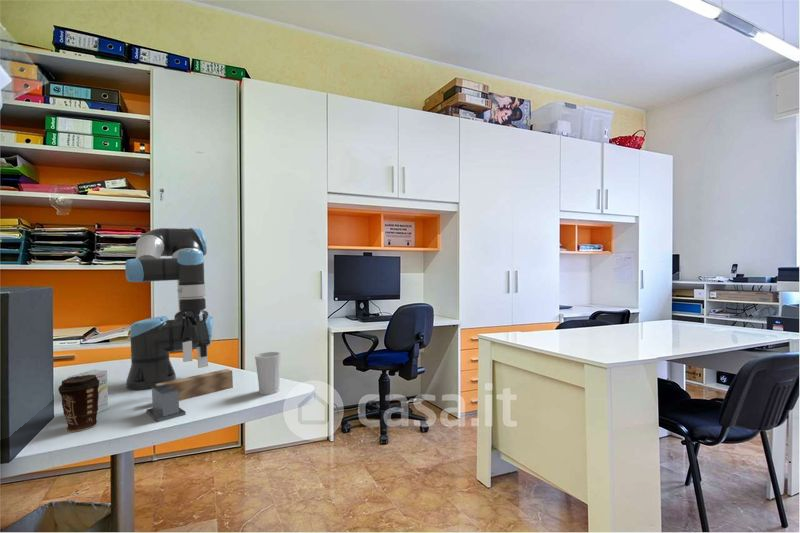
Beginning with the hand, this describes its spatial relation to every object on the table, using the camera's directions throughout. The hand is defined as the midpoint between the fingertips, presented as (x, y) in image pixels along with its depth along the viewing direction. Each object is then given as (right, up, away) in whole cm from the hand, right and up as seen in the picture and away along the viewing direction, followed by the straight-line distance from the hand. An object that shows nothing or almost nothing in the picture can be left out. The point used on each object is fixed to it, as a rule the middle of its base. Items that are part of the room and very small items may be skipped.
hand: (195, 364), depth 132 cm
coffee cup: (-18, -11, -24) cm, 32 cm away
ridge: (-1, -10, -16) cm, 19 cm away
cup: (+23, -9, +1) cm, 25 cm away
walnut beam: (0, -10, 0) cm, 10 cm away
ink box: (-24, -11, -14) cm, 30 cm away
